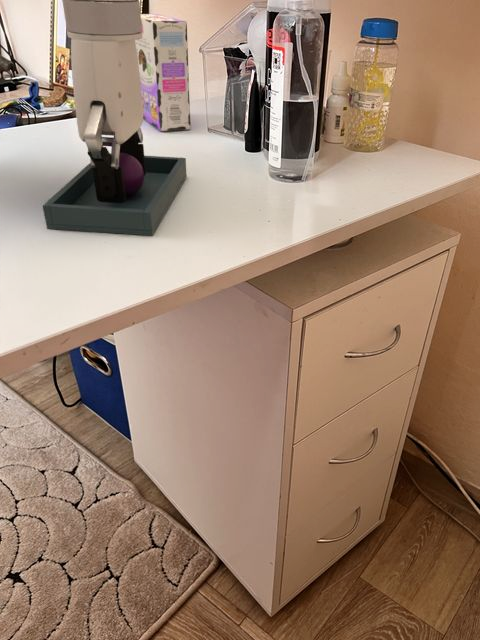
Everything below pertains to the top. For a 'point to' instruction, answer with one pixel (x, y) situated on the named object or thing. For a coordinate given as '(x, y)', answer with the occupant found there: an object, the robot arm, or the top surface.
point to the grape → (131, 173)
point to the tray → (125, 218)
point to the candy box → (164, 72)
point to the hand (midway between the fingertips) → (123, 187)
